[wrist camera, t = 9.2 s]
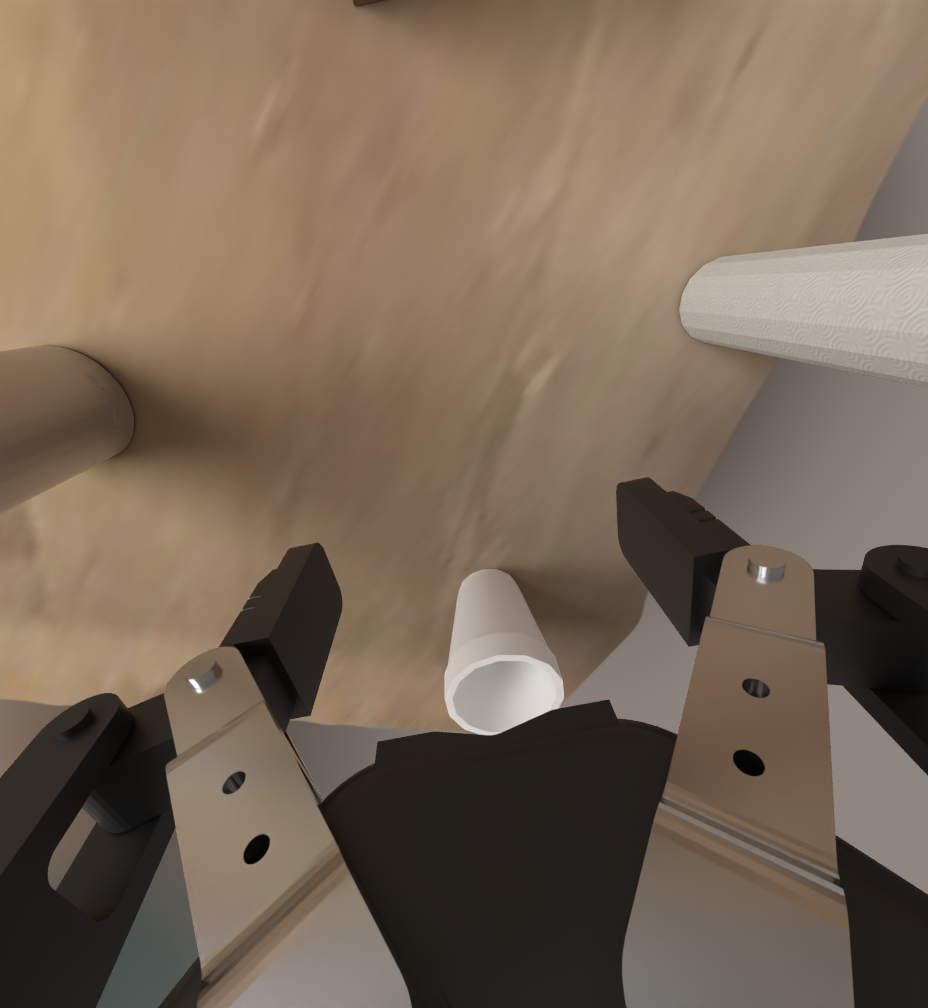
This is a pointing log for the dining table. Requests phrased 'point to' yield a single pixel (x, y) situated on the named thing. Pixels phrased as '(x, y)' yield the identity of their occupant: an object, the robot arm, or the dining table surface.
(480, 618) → the foam cup
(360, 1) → the bridge
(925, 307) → the paper towel roll
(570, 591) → the dining table surface
